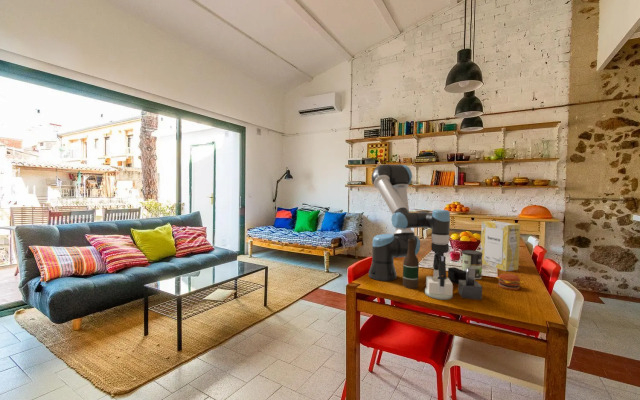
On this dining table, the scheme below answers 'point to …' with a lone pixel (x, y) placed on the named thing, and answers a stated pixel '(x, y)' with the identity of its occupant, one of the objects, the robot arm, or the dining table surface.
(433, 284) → the white square open box
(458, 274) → the digital camera
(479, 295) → the post stand
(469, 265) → the coffee can
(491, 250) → the pasta box
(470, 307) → the dining table surface
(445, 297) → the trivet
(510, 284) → the hamburger
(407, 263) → the beer bottle
